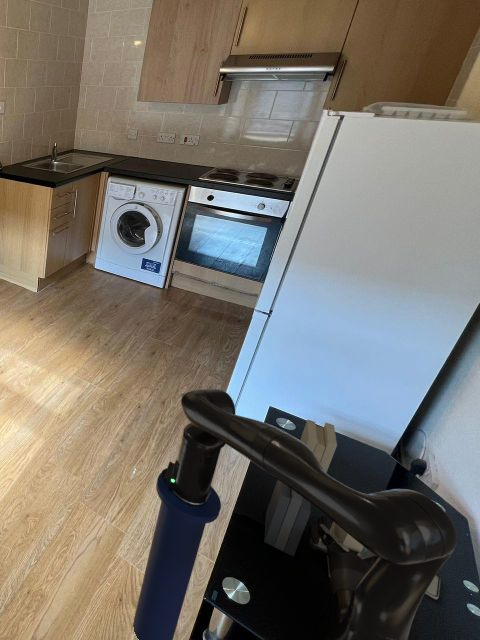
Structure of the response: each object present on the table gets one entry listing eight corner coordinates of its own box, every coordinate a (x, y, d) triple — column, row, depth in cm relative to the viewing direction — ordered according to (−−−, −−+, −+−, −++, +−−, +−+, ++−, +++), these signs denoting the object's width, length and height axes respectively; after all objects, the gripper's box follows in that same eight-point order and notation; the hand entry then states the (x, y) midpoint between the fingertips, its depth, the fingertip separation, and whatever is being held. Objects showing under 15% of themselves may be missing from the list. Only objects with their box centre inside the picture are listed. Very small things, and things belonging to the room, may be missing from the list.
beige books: (293, 481, 119) (309, 435, 114) (292, 460, 127) (308, 416, 122) (318, 492, 116) (337, 445, 111) (316, 470, 123) (334, 425, 118)
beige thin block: (328, 576, 94) (350, 525, 89) (325, 540, 102) (345, 492, 97) (345, 585, 92) (369, 533, 87) (341, 547, 100) (362, 498, 96)
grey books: (264, 542, 101) (281, 491, 96) (265, 513, 109) (282, 465, 104) (293, 556, 98) (313, 505, 93) (293, 526, 106) (311, 477, 100)
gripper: (409, 598, 78) (393, 534, 91) (315, 551, 86) (312, 499, 99) (396, 623, 81) (381, 558, 93) (305, 576, 89) (303, 522, 101)
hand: (346, 528), depth 96 cm, fingers open, 8 cm apart
